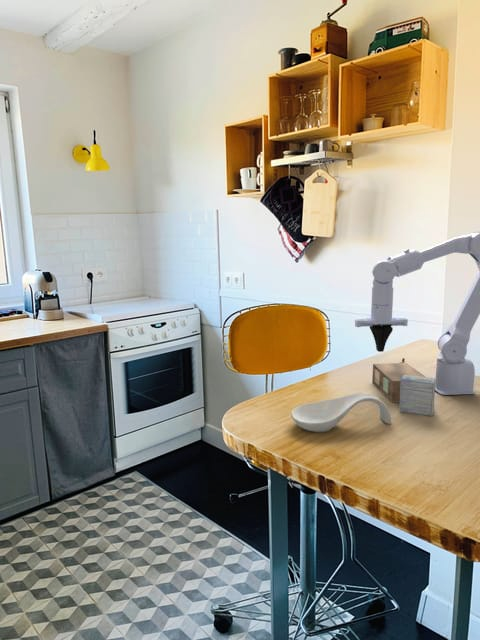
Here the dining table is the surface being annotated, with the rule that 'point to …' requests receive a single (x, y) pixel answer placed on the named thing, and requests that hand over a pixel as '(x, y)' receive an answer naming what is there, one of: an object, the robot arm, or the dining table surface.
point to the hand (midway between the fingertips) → (379, 350)
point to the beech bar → (377, 377)
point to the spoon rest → (333, 411)
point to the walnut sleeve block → (393, 377)
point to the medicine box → (417, 395)
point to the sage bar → (386, 385)
